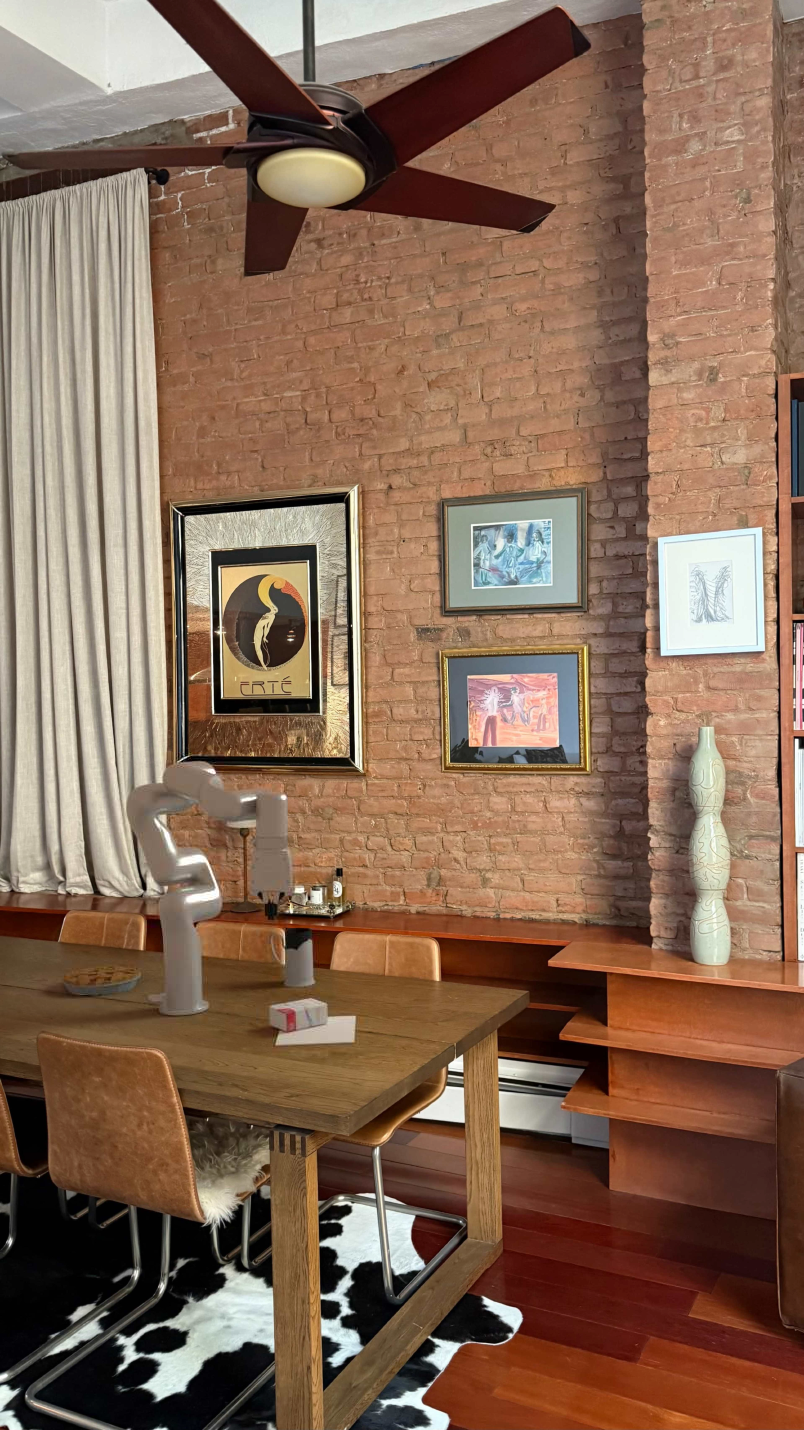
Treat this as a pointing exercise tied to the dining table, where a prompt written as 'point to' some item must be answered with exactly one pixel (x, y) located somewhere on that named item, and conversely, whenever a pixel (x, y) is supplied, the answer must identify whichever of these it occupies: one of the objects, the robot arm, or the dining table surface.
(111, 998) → the dining table surface
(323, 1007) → the ink box
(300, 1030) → the mat
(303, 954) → the tall grey black mug
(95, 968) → the pie
